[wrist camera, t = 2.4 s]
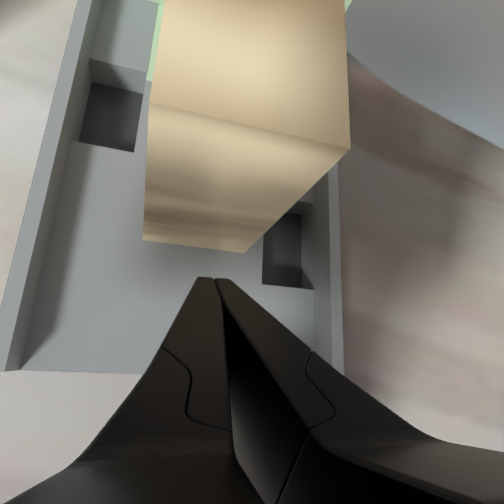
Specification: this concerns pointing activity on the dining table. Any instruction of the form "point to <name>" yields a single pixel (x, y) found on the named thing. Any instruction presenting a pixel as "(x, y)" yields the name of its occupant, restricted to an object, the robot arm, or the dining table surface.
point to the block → (242, 116)
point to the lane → (140, 224)
